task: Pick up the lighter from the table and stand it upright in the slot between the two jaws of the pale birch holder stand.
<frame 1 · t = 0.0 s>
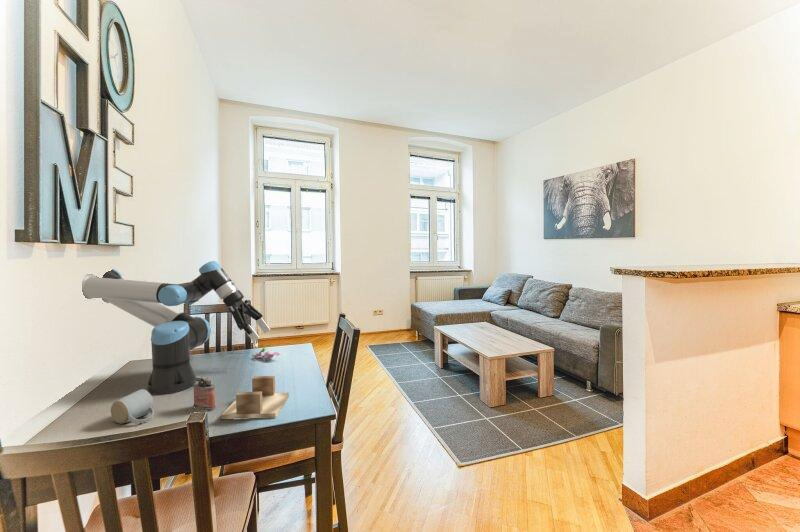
hand: (262, 335, 143), 15 cm above the table, tool tilted 35°, fingers open, 13 cm apart
ceramic mug: (136, 419, 104), on the table
pink flower: (266, 359, 160), on the table
lighter: (204, 408, 111), on the table
holder stand: (257, 407, 111), on the table
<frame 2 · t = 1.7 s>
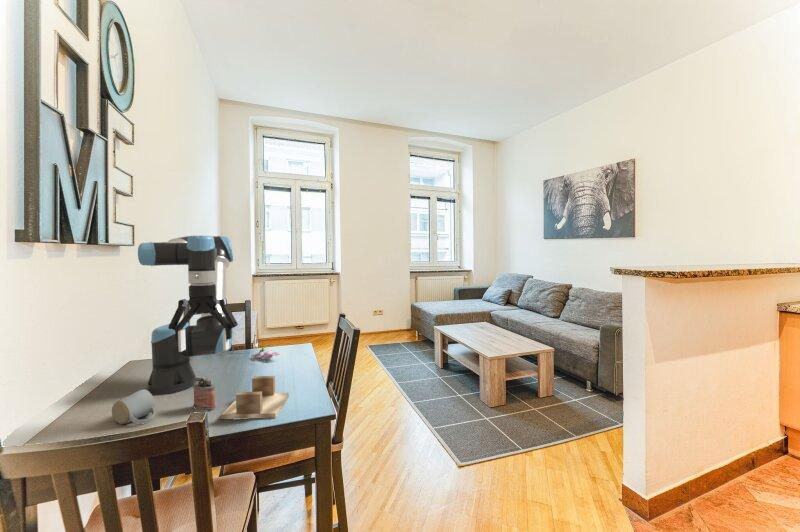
hand: (204, 350, 110), 19 cm above the table, tool pointing down, fingers open, 13 cm apart
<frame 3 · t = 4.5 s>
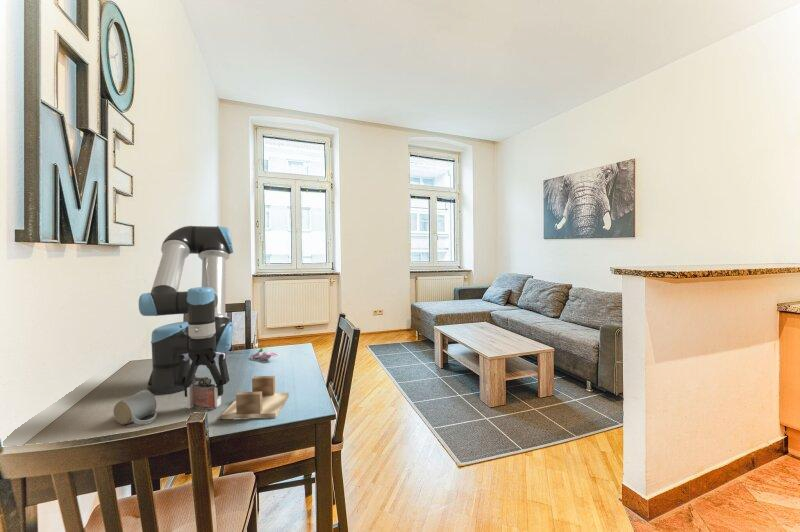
hand: (204, 405, 111), 1 cm above the table, tool pointing down, fingers closed on lighter, 8 cm apart
lighter: (204, 408, 111), on the table, touching gripper
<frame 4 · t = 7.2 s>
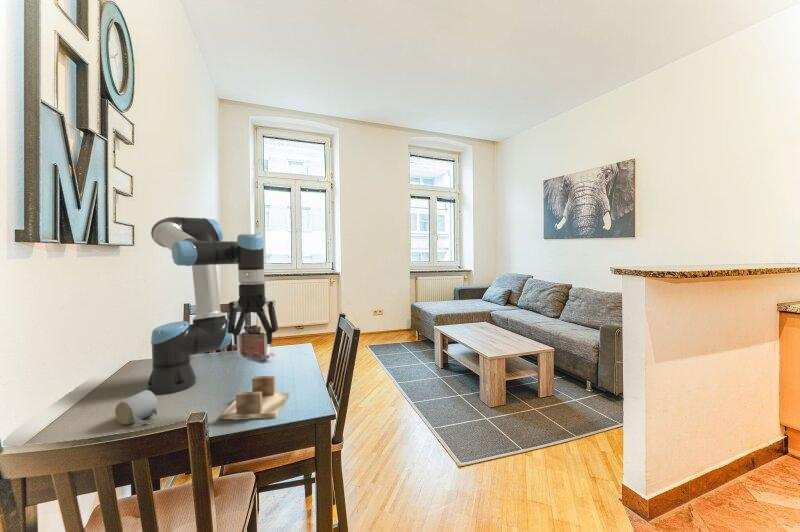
hand: (253, 354, 110), 18 cm above the table, tool pointing down, fingers closed on lighter, 8 cm apart
lighter: (253, 357, 110), point 17 cm above the table, touching gripper
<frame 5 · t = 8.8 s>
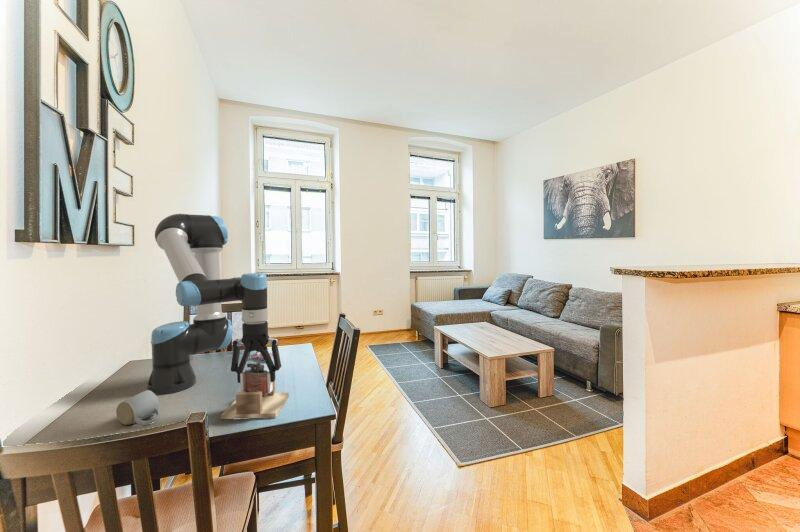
hand: (256, 391, 111), 5 cm above the table, tool pointing down, fingers closed on lighter, 8 cm apart
lighter: (256, 394, 111), point 4 cm above the table, touching gripper
when the fingers open (3 cm above the table, at t = 10.0 s): lighter stays where it is, resting on holder stand.
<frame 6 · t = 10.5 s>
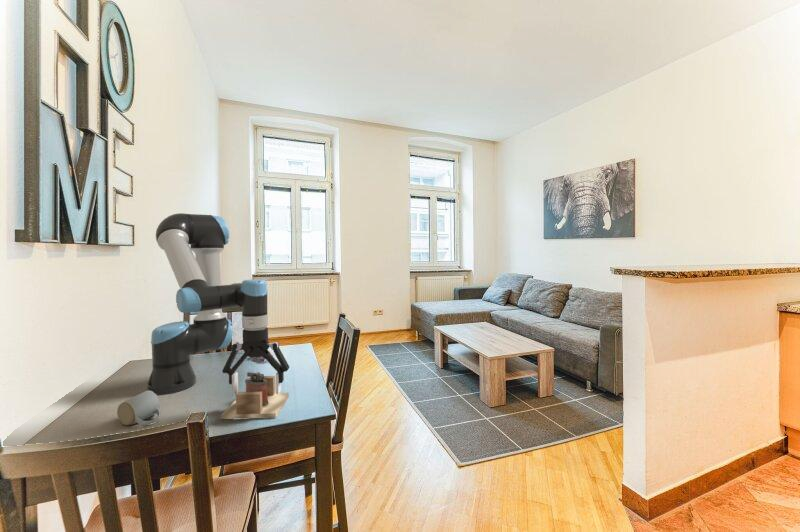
hand: (257, 393, 111), 5 cm above the table, tool pointing down, fingers open, 13 cm apart
lighter: (257, 403, 111), point 1 cm above the table, touching holder stand
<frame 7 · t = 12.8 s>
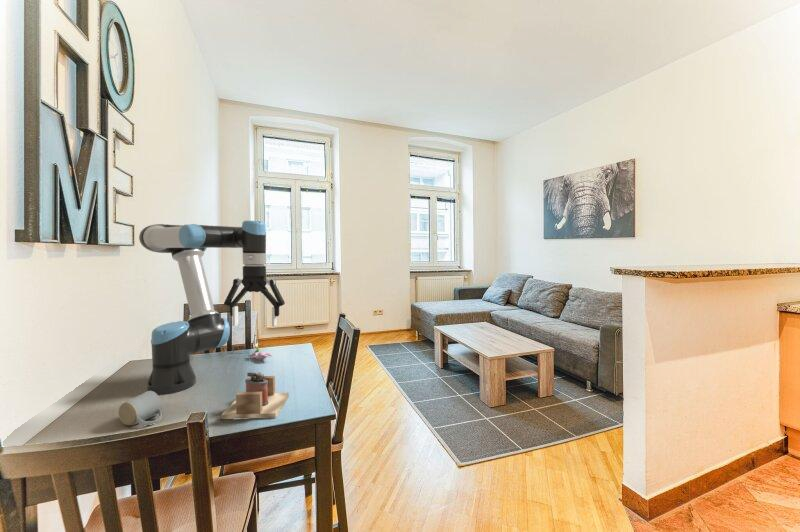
hand: (254, 325, 121), 24 cm above the table, tool pointing down, fingers open, 13 cm apart
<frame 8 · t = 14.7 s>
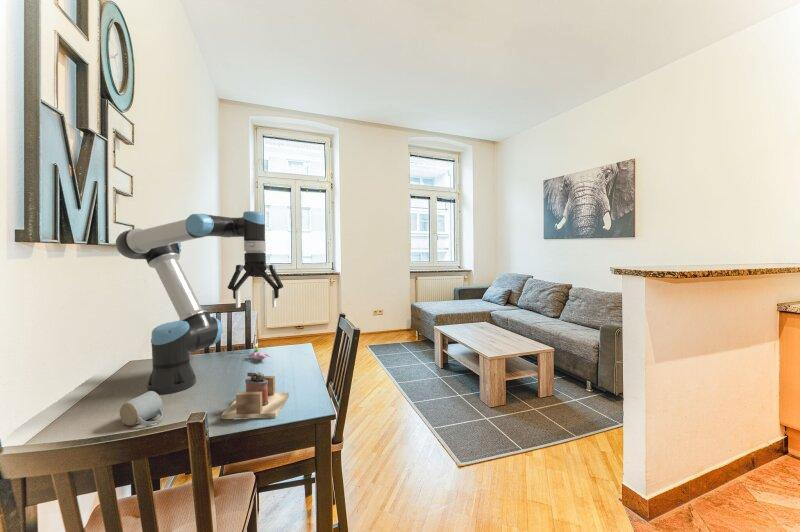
hand: (256, 307, 133), 29 cm above the table, tool pointing down, fingers open, 13 cm apart
at the end: lighter 0.0 cm off-centre on the holder stand, point 1.3 cm above the holder stand's base; lighter tilted 0°; the gripper is holding nothing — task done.
